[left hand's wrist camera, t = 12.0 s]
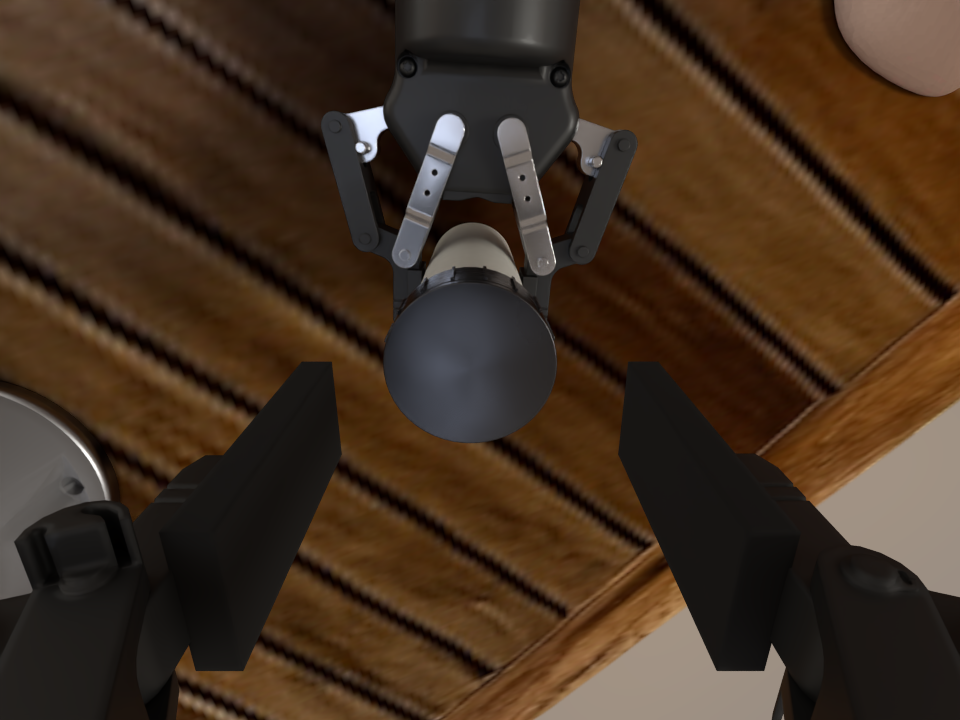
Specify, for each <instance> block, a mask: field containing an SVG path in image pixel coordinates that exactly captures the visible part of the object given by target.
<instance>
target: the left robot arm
mask: <svg viewBox="0 0 960 720" xmlns="http://www.w3.org/2000/svg"><path fill="white" fill-rule="evenodd" d="M341 455H342V453H341V444H340V434H339V425H338V416H337V407H336V397H335V388H334V379H333V370H332V362H301V364H300V365H299V366H298V367H297V368H296V369H295V371H294V372H293V373H292V374H291V375H290V377H289V378H288V379H287V380H286V381H285V383H284V384H283V385H282V386H281V387H280V389H279V390H278V391H277V392H276V393H275V394H274V396H273V397H272V398H271V399H270V400H269V402H268V403H267V404H266V405H265V406H264V408H263V409H262V410H261V411H260V412H259V414H258V415H257V416H256V417H255V418H254V419H253V421H252V422H251V423H250V424H249V425H248V427H247V428H246V429H245V430H244V431H243V433H242V434H241V435H240V436H239V437H238V438H237V440H236V441H235V442H234V443H233V444H232V446H231V447H230V448H229V449H228V450H227V452H226V453H225V454H224V455H205V456H204V457H202V458H200V459H199V460H197V461H196V462H194V463H192V464H191V465H189V466H187V467H186V468H184V469H182V470H181V472H180V473H179V474H178V475H177V476H176V477H175V478H174V479H173V480H172V481H171V482H170V483H169V484H168V486H167V489H164V490H163V491H162V492H161V493H160V494H159V495H158V496H157V497H156V498H155V502H154V503H151V504H150V505H149V506H148V507H147V508H146V509H145V510H144V511H143V512H142V513H141V515H140V516H139V517H138V518H137V519H136V520H135V521H134V522H133V523H132V520H131V516H130V513H129V509H128V508H127V507H126V506H124V505H123V504H122V503H120V493H119V486H118V481H117V477H116V474H115V471H114V469H113V466H112V464H111V462H110V460H109V458H108V456H107V454H106V453H105V451H104V450H103V448H102V447H101V445H100V444H99V443H98V441H97V440H96V439H95V438H94V436H93V435H92V434H91V433H90V432H89V431H88V430H87V429H86V428H85V427H84V426H83V425H82V424H81V423H80V422H79V421H78V420H77V419H76V418H74V417H73V416H72V415H71V414H69V413H68V412H67V411H65V410H64V409H62V408H61V407H60V406H58V405H57V404H55V403H53V402H52V401H50V400H48V399H46V398H45V397H43V396H40V395H38V394H36V393H34V392H32V391H30V390H27V389H25V388H22V387H19V386H16V385H13V384H10V383H6V382H2V381H0V720H176V713H177V705H178V697H179V686H178V680H177V676H176V672H175V667H176V666H177V664H178V662H179V661H180V659H181V657H182V656H183V654H184V652H185V650H186V649H187V647H188V645H189V647H190V651H191V655H192V658H193V662H194V666H195V670H196V671H243V670H244V668H245V666H246V664H247V661H248V659H249V657H250V655H251V653H252V650H253V648H254V646H255V644H256V642H257V639H258V637H259V635H260V633H261V631H262V628H263V626H264V624H265V622H266V620H267V617H268V615H269V613H270V611H271V609H272V606H273V604H274V602H275V600H276V598H277V595H278V593H279V591H280V589H281V587H282V584H283V582H284V580H285V578H286V576H287V573H288V571H289V569H290V567H291V565H292V562H293V560H294V558H295V556H296V554H297V551H298V549H299V547H300V545H301V543H302V540H303V538H304V536H305V534H306V532H307V529H308V527H309V525H310V523H311V521H312V518H313V516H314V514H315V512H316V510H317V507H318V505H319V503H320V501H321V499H322V496H323V494H324V492H325V490H326V488H327V485H328V483H329V481H330V479H331V477H332V474H333V472H334V470H335V468H336V466H337V463H338V461H339V459H340V457H341ZM618 455H619V457H620V459H621V461H622V463H623V466H624V468H625V470H626V472H627V474H628V477H629V479H630V481H631V483H632V485H633V488H634V490H635V492H636V494H637V496H638V499H639V501H640V503H641V505H642V507H643V510H644V512H645V514H646V516H647V518H648V521H649V523H650V525H651V527H652V529H653V532H654V534H655V536H656V538H657V540H658V543H659V545H660V547H661V549H662V551H663V554H664V556H665V558H666V560H667V562H668V565H669V567H670V569H671V571H672V573H673V576H674V578H675V580H676V582H677V584H678V587H679V589H680V591H681V593H682V595H683V598H684V600H685V602H686V604H687V606H688V609H689V611H690V613H691V615H692V617H693V620H694V622H695V624H696V626H697V628H698V631H699V633H700V635H701V637H702V639H703V642H704V644H705V646H706V648H707V650H708V653H709V655H710V657H711V659H712V661H713V664H714V666H715V668H716V670H717V671H764V670H765V666H766V662H767V658H768V655H769V651H770V647H771V643H772V644H773V646H774V648H775V649H776V651H777V653H778V654H779V656H780V658H781V659H782V661H783V663H784V664H785V666H786V669H785V672H784V676H783V679H782V683H781V686H780V690H779V693H778V697H777V700H776V704H775V707H774V711H773V715H772V720H781V719H782V716H783V714H784V720H960V597H956V596H951V595H947V594H942V593H938V592H933V591H929V590H928V589H927V588H926V587H925V585H924V584H923V583H922V582H921V580H920V579H919V578H918V576H917V575H915V574H914V573H913V572H912V571H910V570H909V569H908V568H906V567H905V566H904V565H902V564H901V563H899V562H897V561H895V560H894V559H892V558H890V557H888V556H886V555H884V554H882V553H879V552H876V551H873V550H870V549H867V548H863V547H860V546H852V545H850V544H849V543H848V542H847V541H846V540H845V539H844V538H843V536H842V535H841V534H840V533H839V532H838V531H837V530H836V529H835V528H834V527H833V526H832V525H831V524H830V523H829V522H828V521H827V519H826V518H825V517H824V516H823V515H822V514H821V513H820V512H819V511H818V510H817V509H816V508H815V507H814V506H813V504H812V503H811V502H810V501H806V497H805V496H804V495H803V494H802V493H801V492H800V491H799V490H798V488H797V487H793V483H792V482H791V481H790V480H789V479H788V478H787V477H786V476H785V475H784V474H783V472H782V471H781V470H780V469H779V468H778V467H776V466H774V465H773V464H771V463H769V462H768V461H766V460H764V459H763V458H761V457H759V456H758V455H756V454H735V453H734V452H733V450H732V449H731V448H730V447H729V446H728V444H727V443H726V442H725V441H724V440H723V438H722V437H721V436H720V435H719V434H718V433H717V431H716V430H715V429H714V428H713V427H712V425H711V424H710V423H709V422H708V421H707V419H706V418H705V417H704V416H703V415H702V414H701V412H700V411H699V410H698V409H697V408H696V406H695V405H694V404H693V403H692V402H691V400H690V399H689V398H688V397H687V396H686V394H685V393H684V392H683V391H682V390H681V389H680V387H679V386H678V385H677V384H676V383H675V381H674V380H673V379H672V378H671V377H670V375H669V374H668V373H667V372H666V371H665V369H664V368H663V367H662V366H661V365H660V364H659V362H628V370H627V379H626V388H625V397H624V407H623V416H622V425H621V434H620V444H619V453H618Z"/></svg>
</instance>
